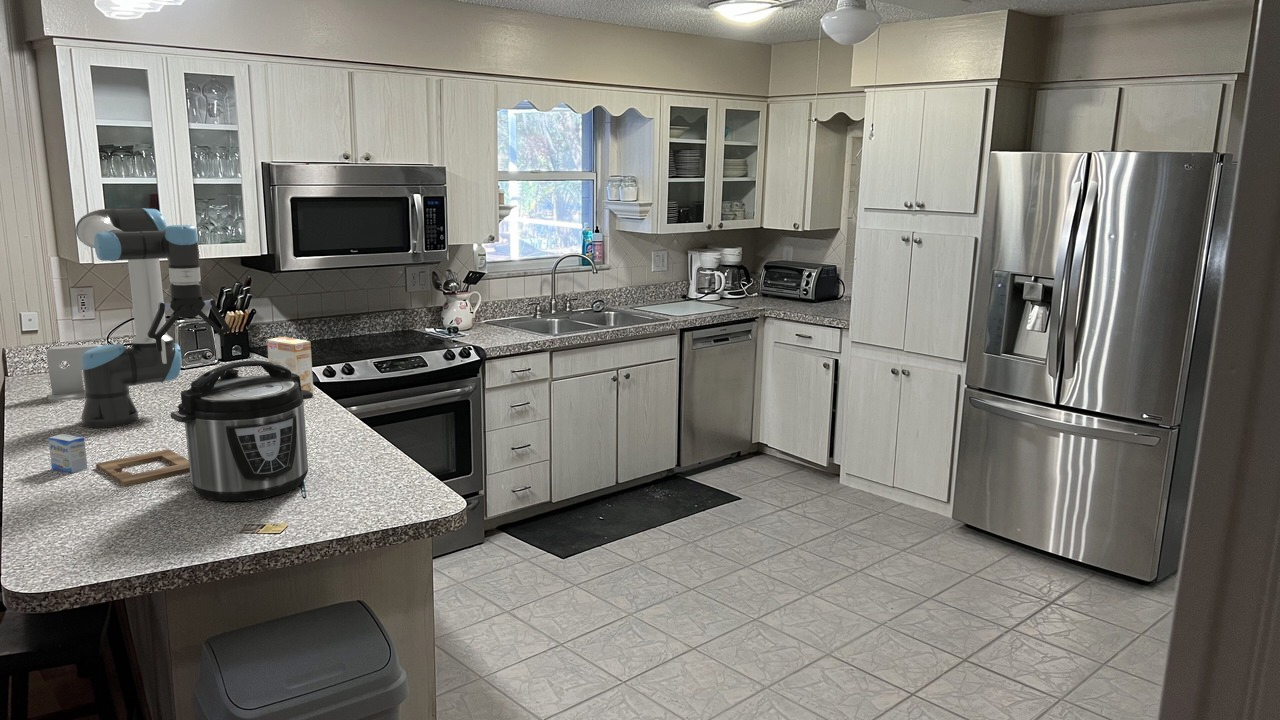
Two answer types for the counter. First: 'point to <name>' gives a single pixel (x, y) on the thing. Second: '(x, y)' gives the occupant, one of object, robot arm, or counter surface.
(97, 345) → the phone holder
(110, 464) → the walnut pocket plate
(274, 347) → the coffeecake box
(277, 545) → the counter surface
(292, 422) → the pressure cooker
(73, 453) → the medicine box
